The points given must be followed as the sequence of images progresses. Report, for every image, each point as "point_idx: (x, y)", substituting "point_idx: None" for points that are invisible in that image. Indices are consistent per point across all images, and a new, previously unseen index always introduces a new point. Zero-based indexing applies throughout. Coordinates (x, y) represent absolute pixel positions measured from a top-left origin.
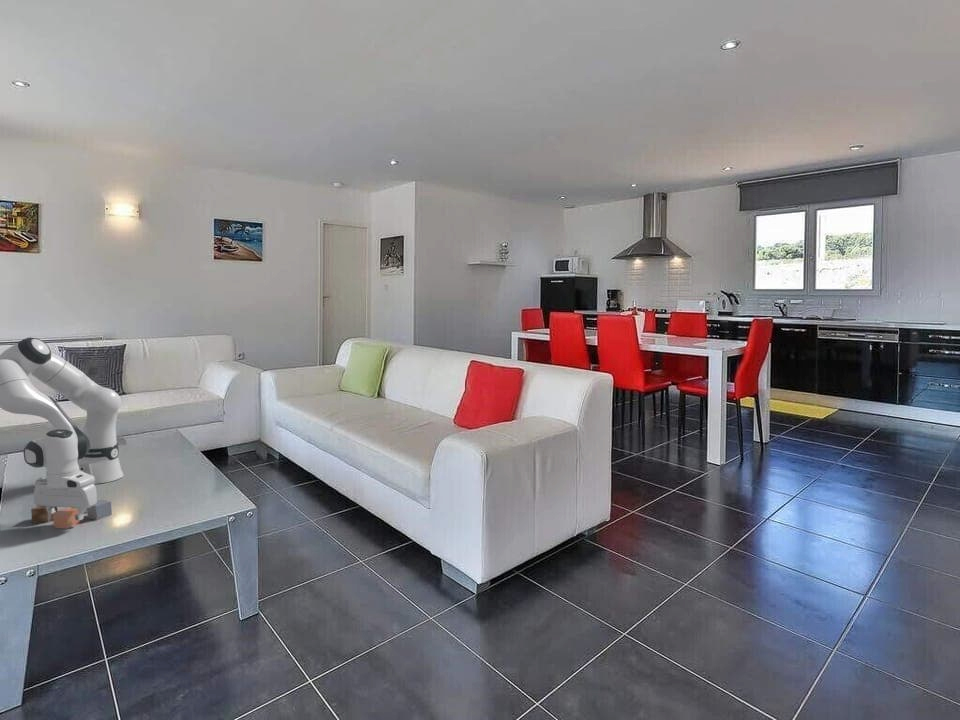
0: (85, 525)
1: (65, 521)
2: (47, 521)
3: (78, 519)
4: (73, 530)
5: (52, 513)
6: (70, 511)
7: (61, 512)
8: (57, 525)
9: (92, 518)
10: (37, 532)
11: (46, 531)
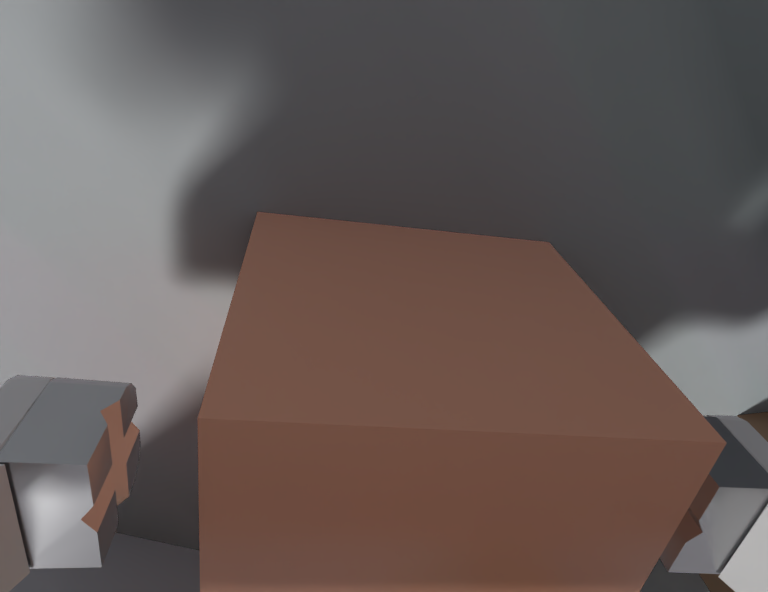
0: (31, 342)
1: (297, 286)
2: (757, 424)
3: (28, 379)
4: (41, 108)
5: (757, 512)
6: (265, 582)
7: (493, 512)
8: (489, 252)
9: (161, 548)
10: (761, 5)
11: (600, 59)
